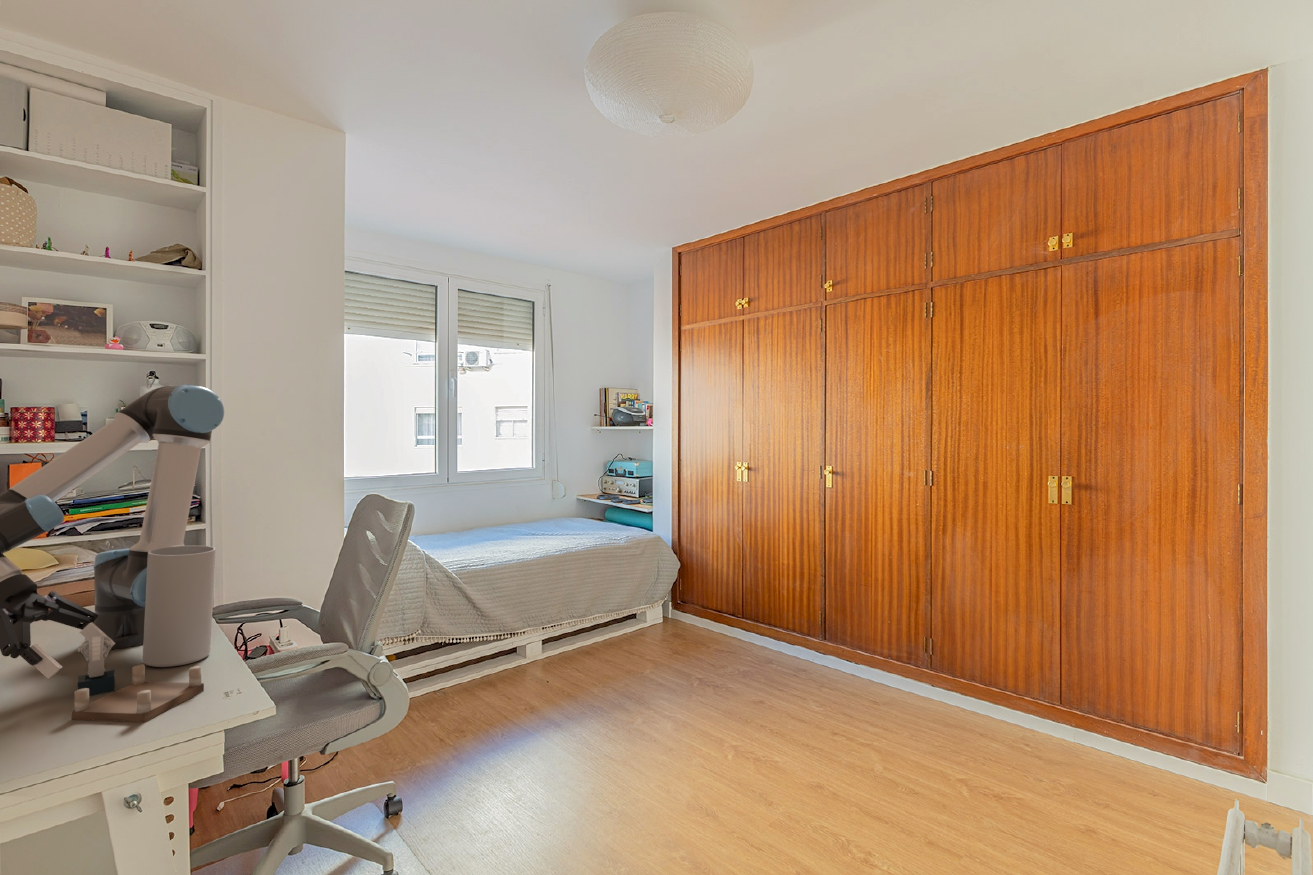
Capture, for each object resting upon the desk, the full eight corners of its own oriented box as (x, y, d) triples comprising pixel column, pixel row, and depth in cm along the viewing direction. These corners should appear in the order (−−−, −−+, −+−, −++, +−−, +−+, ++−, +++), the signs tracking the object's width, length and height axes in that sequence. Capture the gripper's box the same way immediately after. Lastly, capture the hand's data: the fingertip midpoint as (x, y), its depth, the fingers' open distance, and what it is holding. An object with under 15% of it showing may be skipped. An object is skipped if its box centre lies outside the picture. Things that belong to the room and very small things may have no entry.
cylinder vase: (138, 656, 146) (143, 548, 146) (203, 645, 155) (208, 543, 155) (147, 672, 137) (152, 557, 137) (215, 660, 146) (221, 552, 146)
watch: (114, 681, 133) (114, 629, 133) (114, 693, 127) (114, 639, 127) (78, 688, 130) (78, 635, 129) (76, 701, 123) (76, 645, 123)
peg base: (138, 688, 130) (138, 664, 130) (203, 690, 129) (203, 666, 129) (71, 719, 116) (71, 692, 116) (144, 722, 115) (144, 694, 115)
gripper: (41, 584, 137) (115, 652, 139) (-80, 618, 113) (12, 699, 114) (68, 560, 138) (141, 627, 140) (-46, 588, 113) (45, 669, 115)
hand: (84, 660), depth 127 cm, fingers open, 13 cm apart
